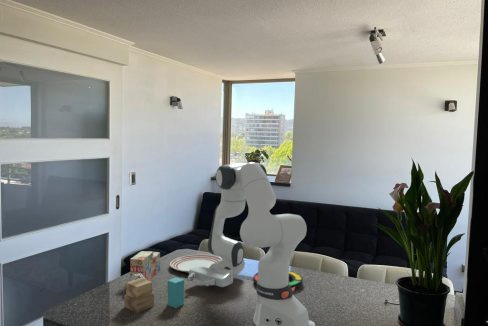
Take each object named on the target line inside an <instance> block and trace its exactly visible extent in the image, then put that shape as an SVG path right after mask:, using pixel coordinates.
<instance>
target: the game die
mask: <svg viewBox="0 0 488 326" xmlns="http://www.w3.org/2000/svg"><path fill="white" fill-rule="evenodd" d="M129 275H130V278H129V280H128V282H130V281H133V280H136V279H139V278H143V279H145V277H144V276H143V275H142V272H141V273H139V274H133V275H132V274H131V273H129Z"/></svg>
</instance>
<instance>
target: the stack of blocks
mask: <svg viewBox="0 0 488 326" xmlns="http://www.w3.org/2000/svg"><path fill="white" fill-rule="evenodd" d="M129 261H130V273H131V274H132V275H133V274H139V273H141V272H142V275H143V276H144V277H145V279H146V280H149V281H151V280H152V278H153V277H154V276H155V275H157V274H158V273H159V272H160V271H161V252H158V251H143V250H142V251H140V252H138V253H137V254H135V255H134V256H133V257H131V258H130V259H129ZM130 273H129V274H130Z"/></svg>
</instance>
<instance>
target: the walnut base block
mask: <svg viewBox="0 0 488 326" xmlns="http://www.w3.org/2000/svg"><path fill="white" fill-rule="evenodd" d="M123 297H124V299H123V300H124V301H123V303H124V304H123V305H124V307H123V308H125V307H126V308H125V309H127V308H128V309H127V310H129V309H130V310H129V311H132V312H134V313H136V314H138V313H141V312H143V311H146V310H147V309H150V308H152V307H155V293H153V292H152V295H149V296H147V297H144V298H141V299H139V300H136V299H134V298H132V297H129V296H127V295H126V294H124V296H123Z"/></svg>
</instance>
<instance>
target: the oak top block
mask: <svg viewBox="0 0 488 326" xmlns="http://www.w3.org/2000/svg"><path fill="white" fill-rule="evenodd" d="M125 285H126V287H125V289H126V291H125V293H126V294H125V295H127V296H129V297H132V298H134V299H136V300H139V299H141V298H144V297H147V296H149V295H152V293H153V281H152V280H146V279H143V278H139V279H136V280H133V281H130V282H129V281H128V282H126V284H125Z"/></svg>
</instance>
